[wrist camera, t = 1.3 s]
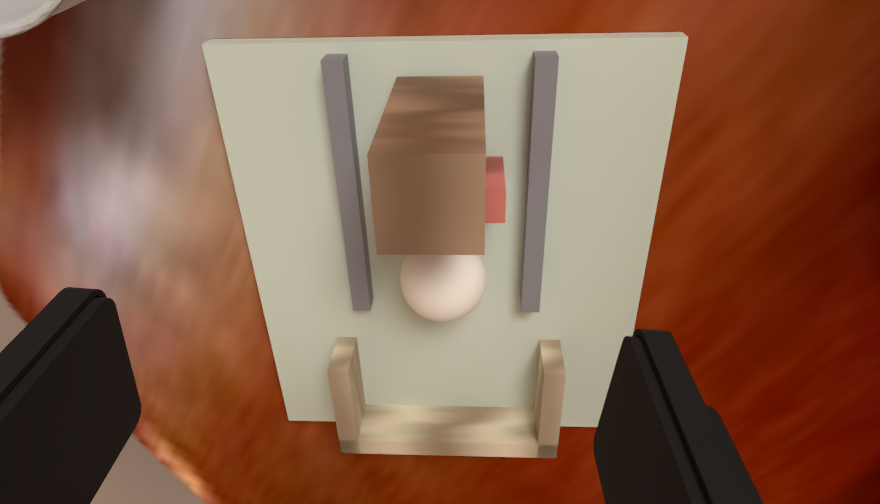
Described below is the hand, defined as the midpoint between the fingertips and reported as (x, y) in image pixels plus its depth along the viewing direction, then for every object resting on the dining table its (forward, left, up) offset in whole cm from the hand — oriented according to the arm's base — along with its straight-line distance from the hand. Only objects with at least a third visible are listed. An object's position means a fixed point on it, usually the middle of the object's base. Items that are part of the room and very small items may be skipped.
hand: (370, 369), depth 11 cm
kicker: (0, +3, -20) cm, 20 cm away
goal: (0, +20, -20) cm, 28 cm away
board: (0, +11, -21) cm, 24 cm away
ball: (0, +10, -18) cm, 20 cm away
